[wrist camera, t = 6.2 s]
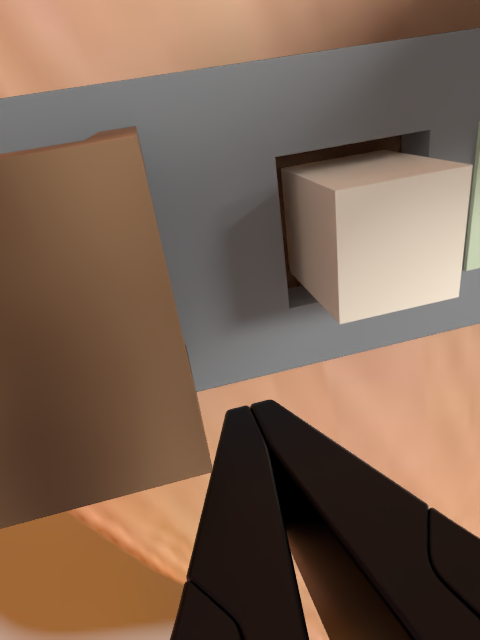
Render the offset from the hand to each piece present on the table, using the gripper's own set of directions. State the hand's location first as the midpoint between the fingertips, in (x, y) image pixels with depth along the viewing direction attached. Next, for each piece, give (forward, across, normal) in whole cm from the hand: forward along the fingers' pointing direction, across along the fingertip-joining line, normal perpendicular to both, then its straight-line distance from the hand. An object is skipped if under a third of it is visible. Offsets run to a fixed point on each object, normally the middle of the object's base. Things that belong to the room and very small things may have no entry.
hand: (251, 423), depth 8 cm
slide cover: (+10, +4, 0) cm, 10 cm away
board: (+12, -7, 0) cm, 13 cm away
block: (+12, -7, 0) cm, 13 cm away
